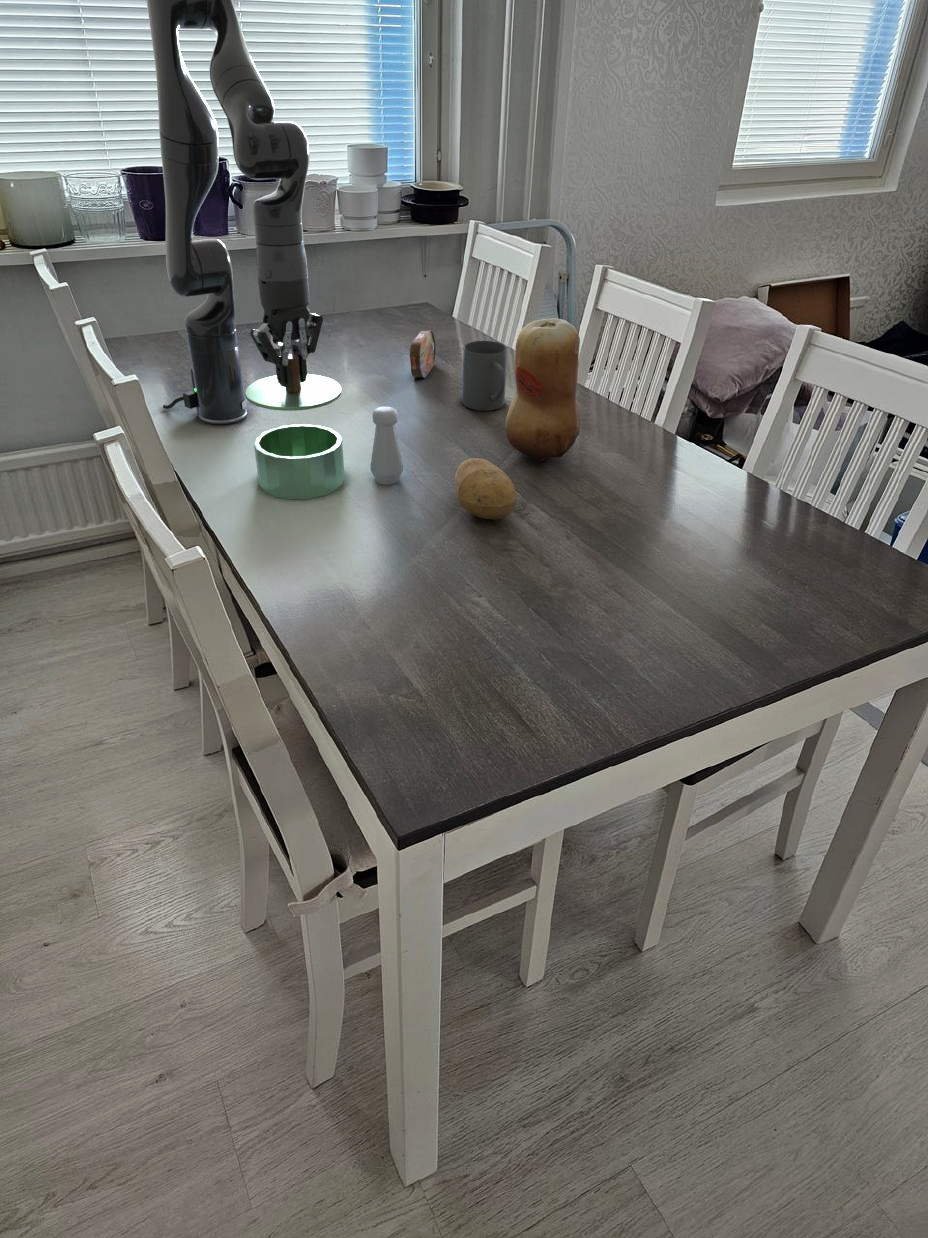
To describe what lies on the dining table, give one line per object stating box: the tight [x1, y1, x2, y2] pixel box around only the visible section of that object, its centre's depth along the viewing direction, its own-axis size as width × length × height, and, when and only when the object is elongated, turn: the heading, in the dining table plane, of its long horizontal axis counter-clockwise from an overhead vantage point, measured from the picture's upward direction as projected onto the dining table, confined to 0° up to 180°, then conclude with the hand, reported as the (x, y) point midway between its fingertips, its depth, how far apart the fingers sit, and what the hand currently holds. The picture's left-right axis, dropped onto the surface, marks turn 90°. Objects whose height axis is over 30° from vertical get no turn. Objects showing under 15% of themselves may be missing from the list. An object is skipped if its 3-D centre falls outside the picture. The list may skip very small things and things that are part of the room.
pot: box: [253, 423, 345, 500], centre depth 148 cm, size 15×15×7 cm
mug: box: [461, 340, 508, 412], centre depth 178 cm, size 14×9×12 cm
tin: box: [409, 330, 436, 379], centre depth 196 cm, size 15×3×8 cm, turn 168°
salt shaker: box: [369, 406, 404, 486], centre depth 147 cm, size 6×6×13 cm
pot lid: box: [244, 353, 342, 412], centre depth 139 cm, size 16×16×7 cm
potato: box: [454, 457, 517, 521], centre depth 139 cm, size 10×14×8 cm
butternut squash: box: [504, 317, 581, 462], centre depth 153 cm, size 14×13×25 cm
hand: (292, 383), depth 140 cm, fingers closed on pot lid, 2 cm apart
